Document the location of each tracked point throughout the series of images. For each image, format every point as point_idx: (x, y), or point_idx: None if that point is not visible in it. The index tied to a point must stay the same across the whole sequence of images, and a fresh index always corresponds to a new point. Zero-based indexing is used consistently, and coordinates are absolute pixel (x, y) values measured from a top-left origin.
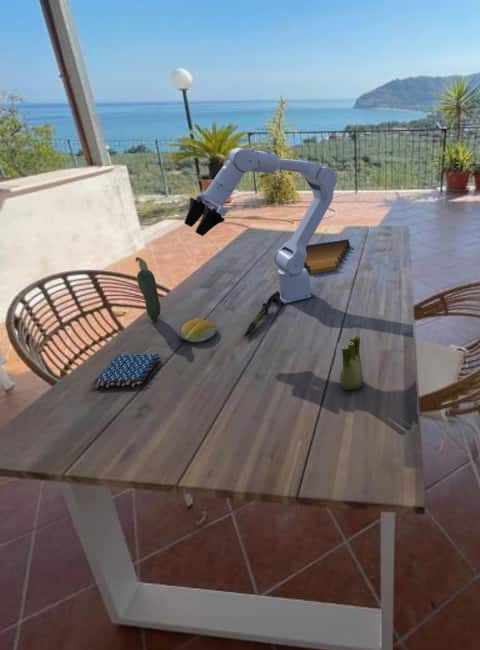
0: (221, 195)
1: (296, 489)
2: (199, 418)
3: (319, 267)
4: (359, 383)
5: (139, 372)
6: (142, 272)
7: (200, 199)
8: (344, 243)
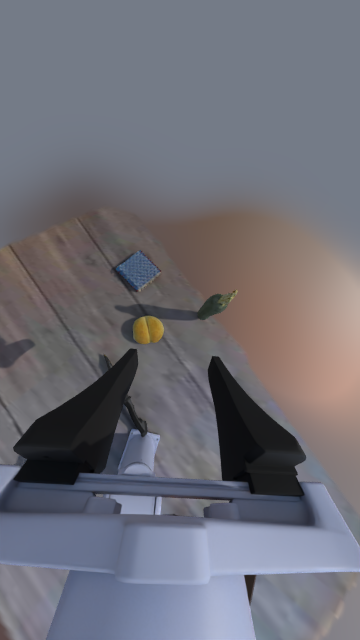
0: None
1: None
2: (47, 278)
3: None
4: None
5: (122, 270)
6: (218, 297)
7: (282, 497)
8: None
